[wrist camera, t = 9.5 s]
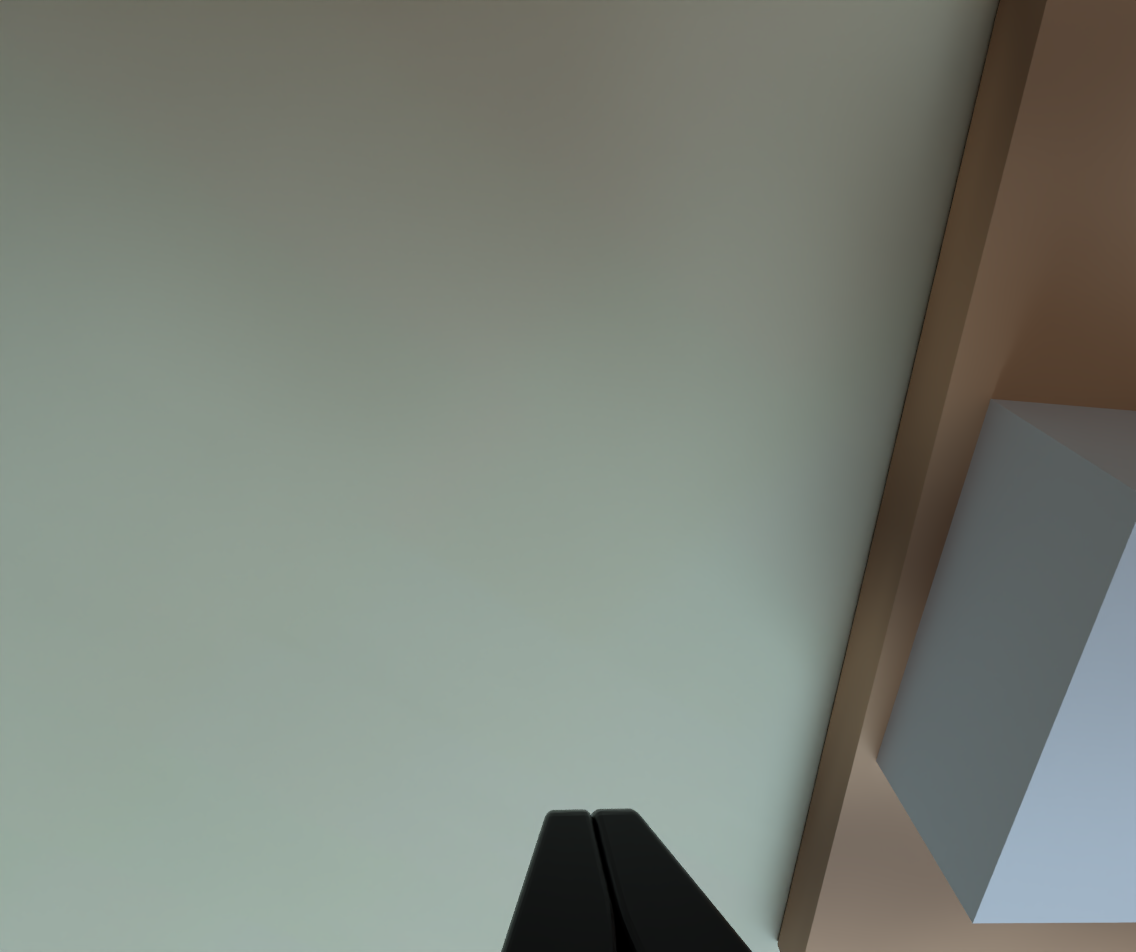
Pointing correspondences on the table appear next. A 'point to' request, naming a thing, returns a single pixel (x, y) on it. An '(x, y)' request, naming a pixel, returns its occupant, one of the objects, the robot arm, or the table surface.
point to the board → (950, 433)
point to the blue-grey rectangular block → (1030, 675)
